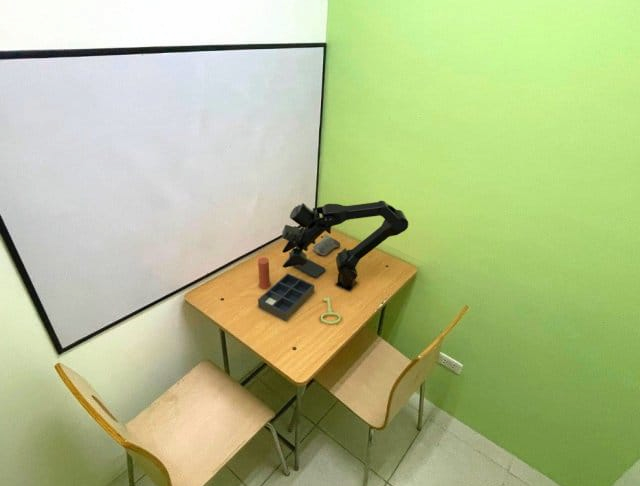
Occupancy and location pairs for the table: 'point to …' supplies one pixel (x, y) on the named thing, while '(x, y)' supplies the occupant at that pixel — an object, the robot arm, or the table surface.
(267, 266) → the reddish brown cylinder
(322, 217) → the robot arm
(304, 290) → the grid
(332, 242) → the stone
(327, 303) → the key
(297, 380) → the table surface
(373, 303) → the table surface
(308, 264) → the phone
